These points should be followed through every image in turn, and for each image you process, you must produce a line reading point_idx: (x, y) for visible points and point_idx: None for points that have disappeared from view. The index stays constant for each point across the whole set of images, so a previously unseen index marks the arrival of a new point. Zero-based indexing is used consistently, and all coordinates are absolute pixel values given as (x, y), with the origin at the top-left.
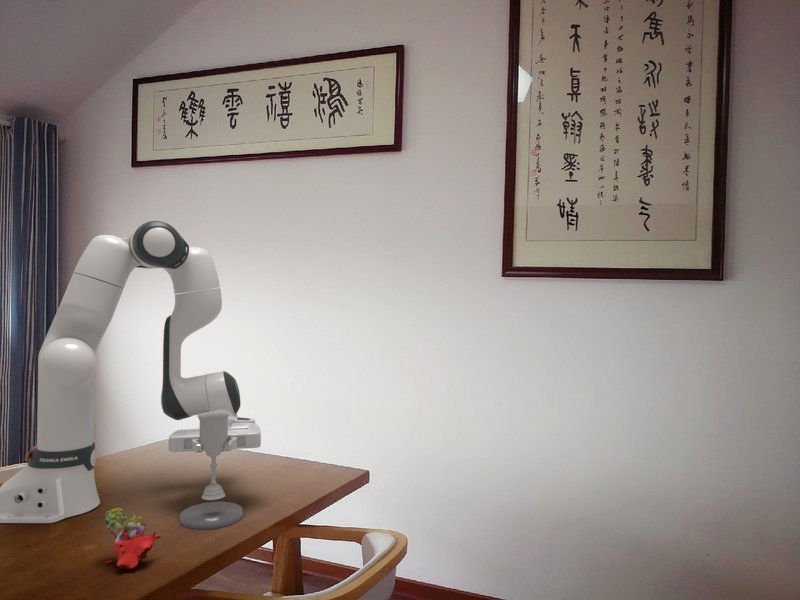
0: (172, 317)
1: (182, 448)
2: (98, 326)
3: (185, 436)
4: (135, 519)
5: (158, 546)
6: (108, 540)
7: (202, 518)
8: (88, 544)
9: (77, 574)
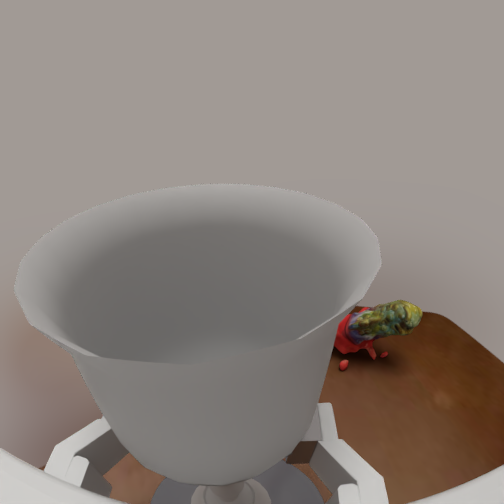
0: None
1: None
2: None
3: (448, 494)
4: (369, 317)
5: (332, 398)
6: (431, 420)
7: (260, 481)
8: (451, 406)
9: (403, 336)
